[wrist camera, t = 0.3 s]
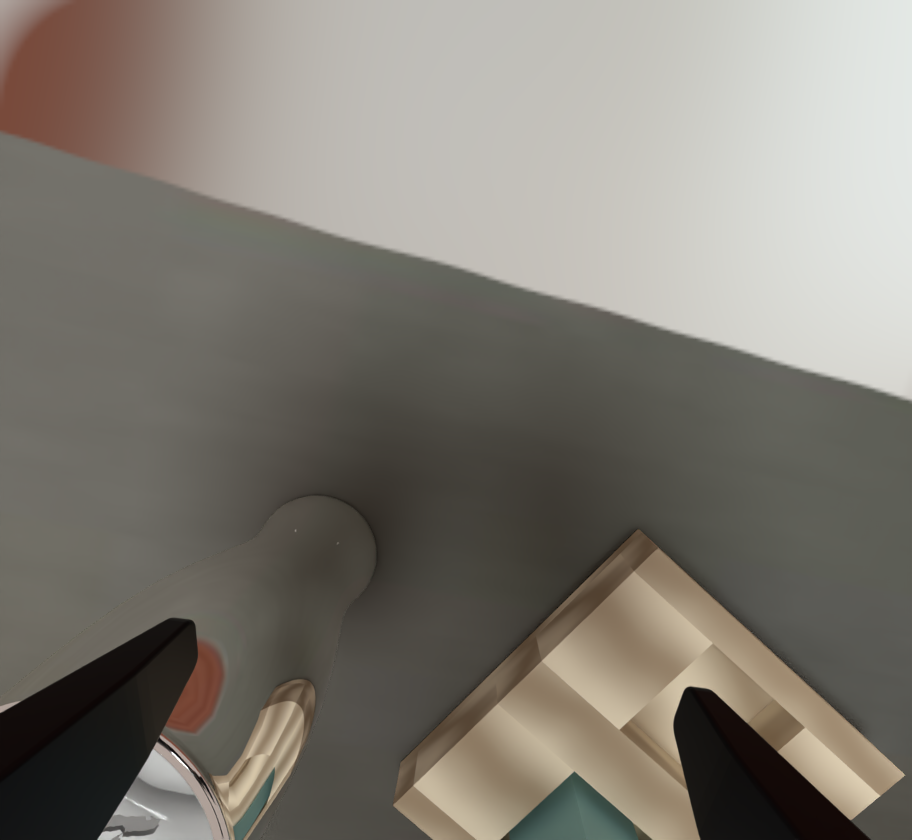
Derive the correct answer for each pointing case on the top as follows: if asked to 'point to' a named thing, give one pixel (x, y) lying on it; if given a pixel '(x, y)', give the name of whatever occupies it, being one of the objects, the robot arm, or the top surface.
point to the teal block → (574, 816)
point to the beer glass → (235, 671)
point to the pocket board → (624, 712)
